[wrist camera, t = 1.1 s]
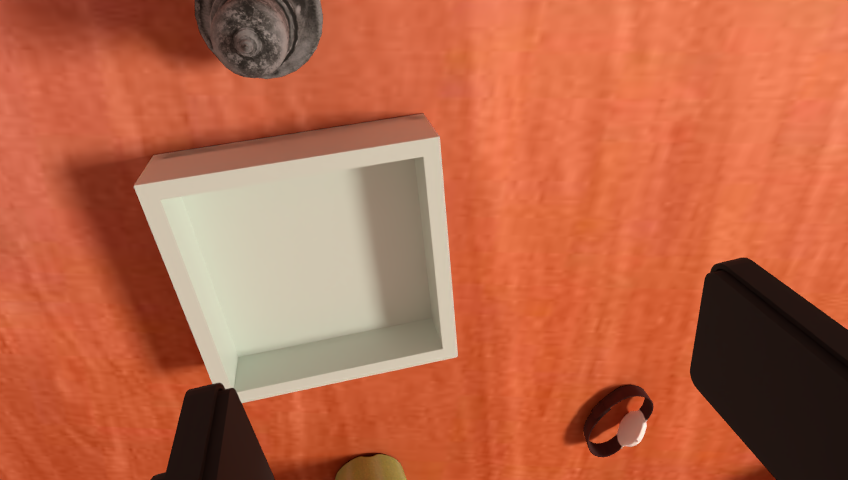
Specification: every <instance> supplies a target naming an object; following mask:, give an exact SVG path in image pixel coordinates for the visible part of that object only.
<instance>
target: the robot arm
mask: <svg viewBox="0 0 848 480" xmlns="http://www.w3.org/2000/svg"><path fill="white" fill-rule="evenodd" d="M690 375H691V378H692V381H693V383H694V385H695V387H696V388H697V389H698V390H699V392H700V393H701V394H702V395H703V396H704V397H705V398H706V400H707V401H708V402H709V403H710V404H711V405H712V406H713V408H714V409H715V410H716V411H717V412H718V413H719V414H720V416H721V417H722V418H723V419H724V420H725V421H726V422H727V424H728V425H729V426H730V427H731V428H732V429H733V430H734V432H735V433H736V434H737V435H738V436H739V437H740V439H741V440H742V441H743V442H744V443H745V444H746V445H747V447H748V448H749V449H750V450H751V451H752V452H753V453H754V455H755V456H756V457H757V458H758V459H759V460H760V461H761V463H762V464H763V465H764V466H765V467H766V468H767V469H768V471H769V472H770V473H771V474H772V475H773V476H774V477H775V479H776V480H848V330H847V329H846V328H844V327H843V326H842V325H840V324H839V323H837V322H836V321H835V320H833V319H832V318H831V317H829V316H828V315H826V314H825V313H824V312H822V311H821V310H819V309H818V308H817V307H815V306H814V305H813V304H811V303H810V302H808V301H807V300H806V299H804V298H803V297H802V296H800V295H799V294H797V293H796V292H795V291H793V290H792V289H791V288H789V287H788V286H786V285H785V284H784V283H782V282H781V281H779V280H778V279H777V278H775V277H774V276H773V275H771V274H770V273H768V272H767V271H766V270H764V269H763V268H762V267H760V266H759V265H757V264H756V263H755V262H753V261H752V260H750V259H748V258H738V259H734V260H730V261H726V262H722V263H718V264H715V265H714V266H713V267H712V269H711V272H710V273H708V274H707V275H706V277H705V281H704V287H703V293H702V299H701V305H700V312H699V318H698V324H697V330H696V336H695V342H694V349H693V355H692V361H691V367H690ZM151 480H275V479H274V476H273V474H272V472H271V469H270V467H269V465H268V462H267V460H266V458H265V456H264V453H263V451H262V449H261V446H260V444H259V442H258V440H257V437H256V435H255V433H254V431H253V428H252V426H251V424H250V421H249V419H248V417H247V415H246V412H245V410H244V408H243V405H242V403H241V401H240V399H239V396H238V394H237V392H236V390H235V389H234V388H229V389H225V387H224V385H223V384H222V383H215V384H211V385H207V386H202V387H198V388H194V389H190V390H188V391H187V392H186V394H185V397H184V401H183V405H182V409H181V413H180V417H179V421H178V426H177V430H176V434H175V438H174V442H173V446H172V450H171V454H170V458H169V462H168V466H167V470H166V472H165V473H161V474H158V475H155V476H153V478H152V479H151Z"/></svg>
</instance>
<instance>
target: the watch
mask: <svg viewBox="0 0 848 480" xmlns="http://www.w3.org/2000/svg"><path fill="white" fill-rule="evenodd" d="M634 396H641V397H645V400H644V403H643V405H642V406H641V408H640V409H639V410H638V411H631V412H629V413H628V414H626V415H625V416H624V418H623V419H622V420H621V422H620V424H619V428H618V432H617V434H616V436H614V437H613V438H612V439H610V440H609V441H607V442H604V443H599V444H596V443H592V442H590V441H589V436H590V433H591V431H592V429H593V428H594V426H595V425H596V424H597V423H598V421H599V420H600V419H601V418H602V417H603V416H604V415H605V414H606V413H607V412H608V411H610V410H611V409H610V408H611V407H612V406H614V405H615V404H617V403H618V402H620V401H622V400H624V399H626V398H629V397H634ZM652 411H653V403H652V401H651V399H650V398H649V396H648V395H647V394H646V392H645V391H644V390H643V389H642V388H641V387H639V386H635V385H626V386H622V387H619V388H617V389H615V390H614V391H613V392H611V393H610V394H609V395H607V396H606V397H605V398H604V399H602V400H601V401H600V402H599V403H598V404H597V405H596V406H595V407H594V408H593V409H592V413H591V414H590V416H589V417H588V419H587V420H586V422H585V425H584V436H585V439H586V442H587V445H588V448H589V450H590V452H591V453H592V454H593V455H595V456H598V457H607V456H610V455H612V454H614V453H616V452H617V451H619V450H620V449H622V447H623V446H628V447H632V446H635V445H637V444H639V442H640V441H641V440H642V438H643V436H644V434H645V430H646V426H647V425H646V421H647V419H648V418H649V417H650V415H651V414H652Z"/></svg>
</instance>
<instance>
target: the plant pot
mask: <svg viewBox="0 0 848 480" xmlns="http://www.w3.org/2000/svg"><path fill="white" fill-rule="evenodd" d="M335 480H407V479H406V476H405V474H404V471H403V468H402V466H401V464H400V463H399V462H398V461H397V460H396V459H394V458H393V457H390V456H388V455H384V454H376V455H374V456H372V457H362V456H360V457H357V458H355V459H353V460H351V461H349V462H348V463H346V464H345V465H344V466H343V467H342V468H341V469H340V470H339V471H338V473H337V475H336V478H335Z"/></svg>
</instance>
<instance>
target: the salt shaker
mask: <svg viewBox="0 0 848 480" xmlns="http://www.w3.org/2000/svg"><path fill="white" fill-rule="evenodd" d="M195 17H196V20H197V24H198V28H199V31H200V33H201V35H202V37H203V39H204V41H205V42H206V44H207V46H208V48H209V49H210V50H211V51H212V52H213V53H214V54H215V55H216V57H217V58H218V59H219V60H220V61H221V62H222V63H223V65H224V66H225V67H226V68H228V69H229V70H231V71H232V72H233V73H235V74H238V75H240V76H243V77H249V78H263V79H270V78H277V77H283V76H285V75H287V74H290V73H292V72H294V71H296V70H298V69H299V68H300V67H301V66H302V65H304V64H305V63H306V62H307V61H308V60H309V59H310V57H311V56H312V54H313V53H314V51H315V50H316V49H317V46H318V43H319V40H320V37H321V34H322V24H323V14H322V8H321V2H320V0H195Z"/></svg>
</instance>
